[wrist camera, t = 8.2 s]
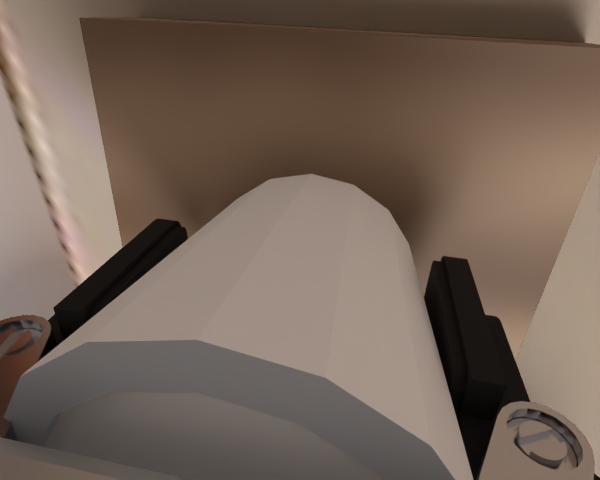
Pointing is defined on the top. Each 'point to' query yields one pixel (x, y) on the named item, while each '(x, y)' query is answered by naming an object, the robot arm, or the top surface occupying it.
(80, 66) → the top surface
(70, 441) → the white cup
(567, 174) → the walnut riser
